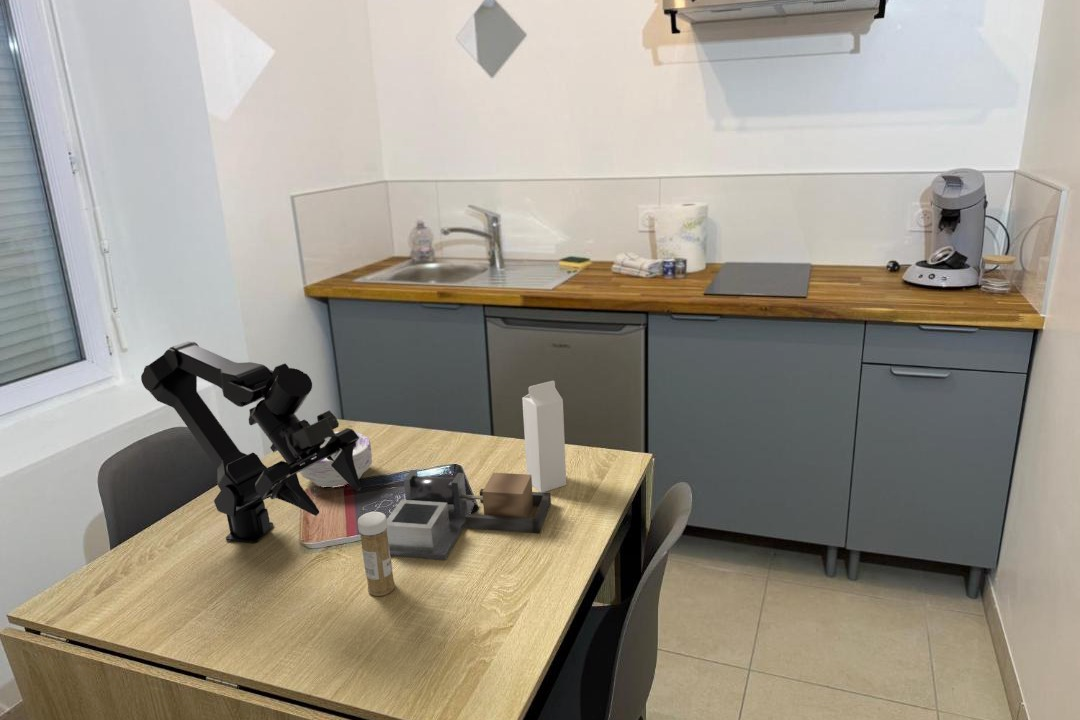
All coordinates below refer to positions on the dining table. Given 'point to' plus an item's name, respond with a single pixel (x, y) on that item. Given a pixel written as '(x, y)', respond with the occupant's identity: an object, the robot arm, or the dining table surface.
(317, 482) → the paper bowls
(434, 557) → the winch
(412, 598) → the dining table surface
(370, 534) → the sprinkles bottle
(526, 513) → the crate bay
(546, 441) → the milk
